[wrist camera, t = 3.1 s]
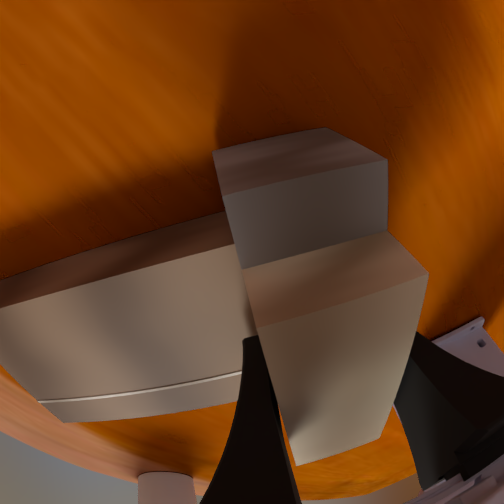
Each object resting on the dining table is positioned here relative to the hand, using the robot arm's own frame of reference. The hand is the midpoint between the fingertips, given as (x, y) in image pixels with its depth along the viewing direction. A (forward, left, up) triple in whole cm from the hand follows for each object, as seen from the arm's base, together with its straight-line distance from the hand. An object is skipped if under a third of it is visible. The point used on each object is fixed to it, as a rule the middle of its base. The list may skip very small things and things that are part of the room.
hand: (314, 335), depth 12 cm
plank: (+6, 0, -3) cm, 7 cm away
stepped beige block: (0, -1, -3) cm, 3 cm away
